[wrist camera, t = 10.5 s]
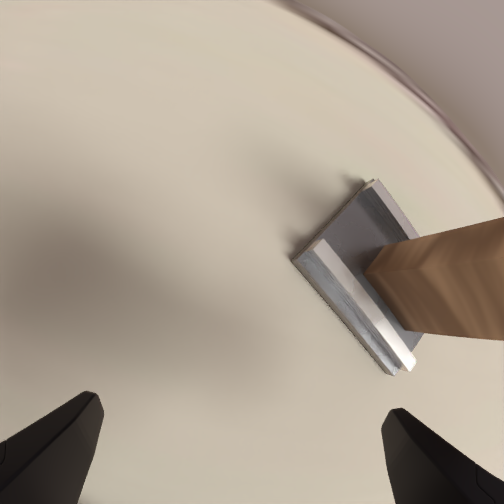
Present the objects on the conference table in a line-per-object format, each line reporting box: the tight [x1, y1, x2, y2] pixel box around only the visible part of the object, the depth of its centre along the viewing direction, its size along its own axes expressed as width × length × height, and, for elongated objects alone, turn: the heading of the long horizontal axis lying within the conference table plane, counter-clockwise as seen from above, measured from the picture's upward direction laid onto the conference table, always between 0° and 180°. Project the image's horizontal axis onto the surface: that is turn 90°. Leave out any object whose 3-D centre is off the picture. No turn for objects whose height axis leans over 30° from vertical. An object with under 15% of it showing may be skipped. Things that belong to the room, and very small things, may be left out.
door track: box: [291, 179, 424, 376], centre depth 20 cm, size 12×9×2 cm
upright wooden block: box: [363, 217, 504, 341], centre depth 14 cm, size 4×6×12 cm, turn 44°
